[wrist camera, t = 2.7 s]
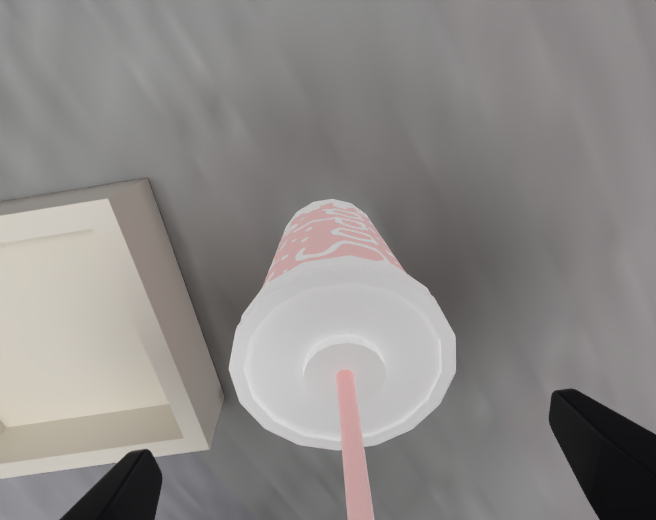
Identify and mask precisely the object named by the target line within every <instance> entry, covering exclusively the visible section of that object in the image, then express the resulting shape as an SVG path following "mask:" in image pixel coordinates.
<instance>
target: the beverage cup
mask: <svg viewBox="0 0 656 520" xmlns="http://www.w3.org/2000/svg"><path fill="white" fill-rule="evenodd" d="M229 372H230V375H231V378H232V381H233V384H234V387H235V390H236V393H237V396H238V399H239V402H240V403H241V405H242V406H243V407H244V408H245V409H246V410H247V411H248V412H249V413H250V414H251V415H252V416H253V417H254V418H255V419H256V420H257V421H258V422H259V423H260V424H261V426H262V427H263V428H264V429H266V430H268V431H270V432H272V433H275V434H277V435H279V436H281V437H283V438H285V439H287V440H289V441H291V442H293V443H295V444H298V445H302V446H309V447H316V448H323V449H330V450H337V451H338V450H342V457H343V469H344V481H345V493H346V505H347V517H348V520H375V519H374V512H373V505H372V499H371V492H370V485H369V478H368V471H367V464H366V457H365V450H364V447H367V446H374V445H378V444H380V443H383V442H385V441H387V440H389V439H392V438H394V437H396V436H398V435H401V434H403V433H405V432H407V431H410V430H412V429H413V428H414V427H415V426H417V425H418V424H419V423H420V422H421V421H422V420H423V419H424V418H425V417H427V416H428V415H429V414H430V413H431V412H432V411H433V410H434V409H435V408H436V407H438V406H439V405H440V404H441V401H442V399H443V397H444V395H445V393H446V391H447V389H448V387H449V385H450V383H451V381H452V379H453V377H454V375H455V373H456V336H455V334H454V332H453V330H452V329H451V327H450V325H449V323H448V321H447V320H446V318H445V316H444V314H443V312H442V311H441V309H440V307H439V305H438V303H437V302H436V300H435V298H434V297H433V296H432V295H431V294H430V292H429V290H428V289H427V287H425V286H424V285H422V284H421V283H419V282H418V281H416V280H415V279H414V278H412V277H411V276H409V275H408V274H406V272H405V271H404V269H403V268H402V266H401V265H400V263H399V262H398V260H397V259H396V257H395V256H394V255H393V253H392V252H391V250H390V249H389V247H388V246H387V244H386V243H385V241H384V240H383V238H382V237H381V235H380V234H379V232H378V231H377V230H376V228H375V227H374V225H373V224H372V222H371V221H370V219H369V218H368V216H367V215H366V214H365V213H364V212H362V211H361V210H360V209H358V208H357V207H356V206H354V205H353V204H351V203H348V202H344V201H339V200H335V199H329V200H322V201H316V202H312V203H311V204H309V205H307V206H306V207H304V208H302V209H301V210H299V211H297V212H296V214H295V215H294V216H293V218H292V219H291V221H290V222H289V223H288V225H287V226H286V228H285V231H284V233H283V236H282V238H281V241H280V244H279V246H278V249H277V251H276V254H275V256H274V259H273V261H272V264H271V267H270V269H269V272H268V274H267V277H266V279H265V282H264V284H263V287H262V289H261V290H260V292H259V293H258V294H257V296H256V297H255V298H254V300H253V301H252V302H251V304H250V305H249V306H248V308H247V309H246V310H245V312H244V313H243V314H242V316H241V321H240V323H239V324H238V325H237V328H236V331H235V336H234V341H233V347H232V353H231V358H230V364H229Z"/></svg>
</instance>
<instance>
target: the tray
mask: <svg viewBox="0 0 656 520" xmlns="http://www.w3.org/2000/svg"><path fill="white" fill-rule="evenodd" d="M224 398H225V396H224V394H223V391H222V388H221V385H220V382H219V379H218V377H217V374H216V371H215V368H214V365H213V362H212V359H211V357H210V354H209V351H208V348H207V345H206V342H205V340H204V337H203V334H202V331H201V328H200V325H199V323H198V320H197V317H196V314H195V311H194V308H193V305H192V303H191V300H190V297H189V294H188V291H187V288H186V286H185V283H184V280H183V277H182V274H181V271H180V269H179V266H178V263H177V260H176V257H175V254H174V252H173V249H172V246H171V243H170V240H169V237H168V234H167V232H166V229H165V226H164V223H163V220H162V217H161V215H160V212H159V209H158V206H157V203H156V200H155V198H154V195H153V192H152V189H151V186H150V183H149V180H148V178H144V179H137V180H131V181H125V182H119V183H113V184H106V185H100V186H94V187H88V188H81V189H75V190H69V191H63V192H57V193H50V194H44V195H38V196H32V197H26V198H19V199H13V200H7V201H1V202H0V479H2V478H9V477H16V476H24V475H31V474H38V473H45V472H52V471H59V470H66V469H73V468H81V467H88V466H95V465H102V464H109V463H116V462H119V461H120V460H121V459H122V458H123V457H124V456H125V455H126V454H127V453H129V452H130V451H134V450H141V449H148V450H150V451H151V452H152V454H153V456H154V457H159V456H166V455H173V454H181V453H188V452H195V451H202V450H209V449H210V447H211V443H212V440H213V437H214V433H215V430H216V426H217V423H218V419H219V416H220V412H221V409H222V405H223V402H224Z"/></svg>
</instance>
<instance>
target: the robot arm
mask: <svg viewBox="0 0 656 520" xmlns="http://www.w3.org/2000/svg"><path fill="white" fill-rule="evenodd" d="M549 423H550V426H551V429H552V431H553V433H554V435H555V437H556V439H557V441H558V443H559V445H560V447H561V449H562V451H563V453H564V455H565V457H566V459H567V461H568V463H569V464H570V466H571V468H572V470H573V472H574V474H575V476H576V478H577V480H578V482H579V484H580V486H581V488H582V490H583V492H584V494H585V495H586V497H587V499H588V501H589V503H590V504H591V506H592V508H593V509H594V511H595V513H596V514H597V516H598V518H599V519H600V520H656V434H654V433H652V432H651V431H649V430H647V429H645V428H643V427H642V426H640V425H638V424H636V423H634V422H633V421H631V420H629V419H627V418H626V417H624V416H622V415H620V414H618V413H617V412H615V411H613V410H611V409H610V408H608V407H606V406H604V405H602V404H601V403H599V402H597V401H595V400H594V399H592V398H590V397H588V396H586V395H585V394H583V393H581V392H579V391H577V390H575V389H563V390H556V391H554V392H553V393H552V396H551V403H550V411H549ZM161 486H162V473H161V470H160V468H159V466H158V464H157V462H156V460H155V458H154V456H153V454H152V452H151V451H150V450H148V449H141V450H134V451H130V452H129V453H127V454H126V455H125V456H124V457H123V458H122V459H121V460H120V461H119V462H118V463H117V464H116V465H115V466H114V467H113V468H112V469H111V470H110V471H109V472H108V473H107V474H106V475H104V476H103V477H102V478H101V479H100V480H99V481H98V482H97V483H96V484H95V485H94V486H93V487H92V488H91V489H90V490H89V491H88V492H87V493H86V494H85V495H84V496H83V497H82V498H81V499H80V500H79V501H78V502H77V503H76V504H75V505H74V506H73V507H72V508H71V509H70V510H69V511H68V512H67V513H66V514H65V515H64V516H63V517H62V518H61V519H60V520H154V519H155V515H156V510H157V505H158V500H159V495H160V491H161Z"/></svg>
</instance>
